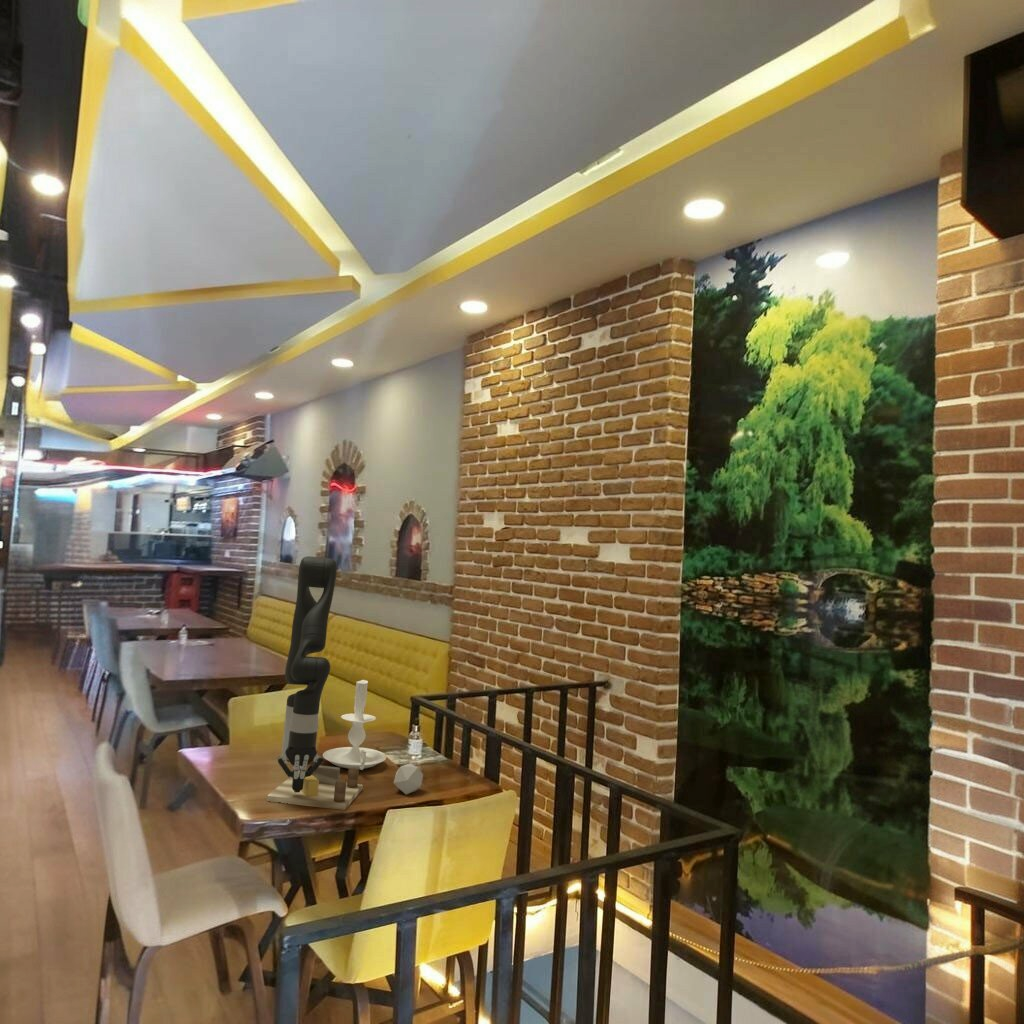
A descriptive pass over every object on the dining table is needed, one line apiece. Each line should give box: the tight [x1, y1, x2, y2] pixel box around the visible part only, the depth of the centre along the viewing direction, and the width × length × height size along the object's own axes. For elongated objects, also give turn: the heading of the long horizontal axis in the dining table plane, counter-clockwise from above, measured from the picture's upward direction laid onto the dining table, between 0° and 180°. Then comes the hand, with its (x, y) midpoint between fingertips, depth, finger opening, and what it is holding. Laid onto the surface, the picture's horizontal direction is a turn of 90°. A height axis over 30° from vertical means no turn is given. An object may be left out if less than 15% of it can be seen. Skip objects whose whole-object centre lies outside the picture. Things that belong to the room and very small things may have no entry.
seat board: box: [266, 765, 364, 811], centre depth 216 cm, size 18×22×6 cm
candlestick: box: [322, 679, 387, 771], centre depth 246 cm, size 21×25×28 cm
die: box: [393, 762, 424, 796], centre depth 226 cm, size 8×9×10 cm
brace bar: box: [298, 766, 319, 796], centre depth 216 cm, size 13×3×6 cm, turn 35°
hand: (296, 791), depth 210 cm, fingers closed
